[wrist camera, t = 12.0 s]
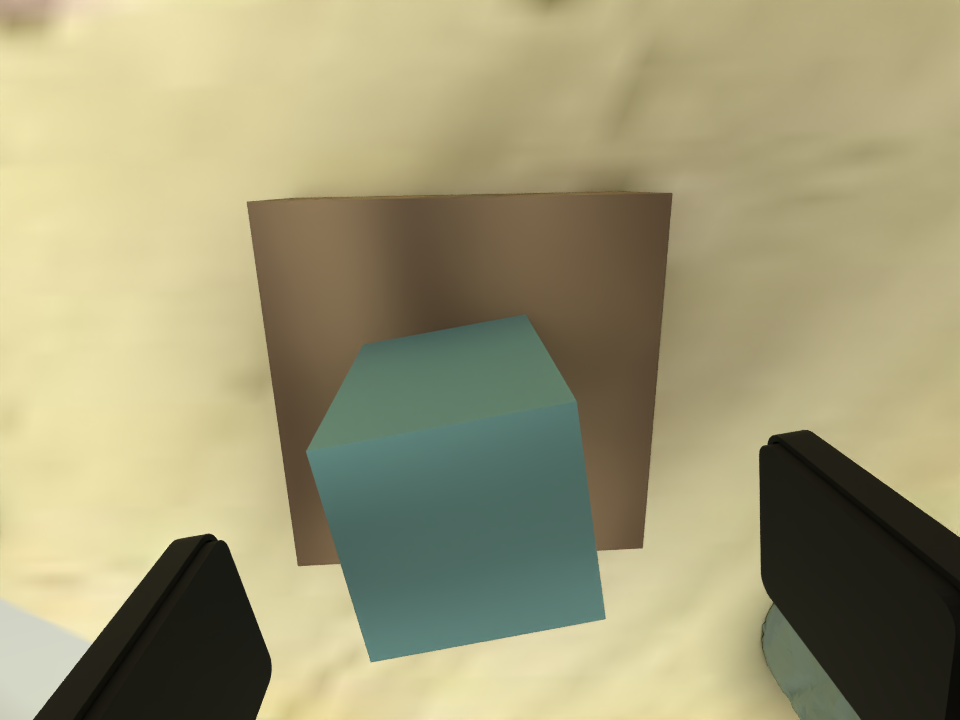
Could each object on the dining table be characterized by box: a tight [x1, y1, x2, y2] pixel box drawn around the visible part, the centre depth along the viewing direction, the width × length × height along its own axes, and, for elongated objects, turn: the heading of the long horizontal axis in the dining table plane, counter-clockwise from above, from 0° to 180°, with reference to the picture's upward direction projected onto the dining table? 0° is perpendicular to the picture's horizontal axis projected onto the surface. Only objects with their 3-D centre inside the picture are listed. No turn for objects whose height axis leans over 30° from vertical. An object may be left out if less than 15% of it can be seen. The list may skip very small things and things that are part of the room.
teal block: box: [306, 314, 606, 662], centre depth 14 cm, size 5×5×7 cm
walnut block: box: [247, 192, 672, 566], centre depth 20 cm, size 12×12×5 cm
